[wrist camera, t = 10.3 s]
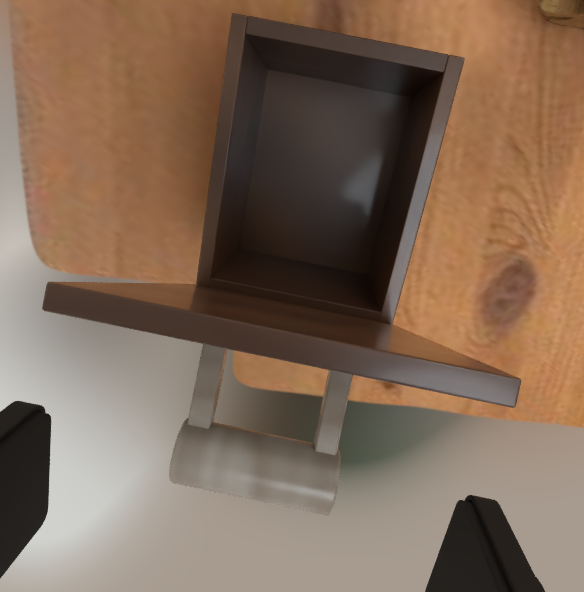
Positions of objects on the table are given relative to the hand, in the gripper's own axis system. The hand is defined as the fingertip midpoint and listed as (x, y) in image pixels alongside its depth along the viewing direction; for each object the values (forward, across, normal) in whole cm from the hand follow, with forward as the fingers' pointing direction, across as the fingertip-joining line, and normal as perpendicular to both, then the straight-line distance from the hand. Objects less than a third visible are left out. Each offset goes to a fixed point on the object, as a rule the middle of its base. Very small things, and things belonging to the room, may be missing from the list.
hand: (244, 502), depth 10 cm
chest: (+30, 0, -6) cm, 31 cm away
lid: (+11, 0, -1) cm, 11 cm away
